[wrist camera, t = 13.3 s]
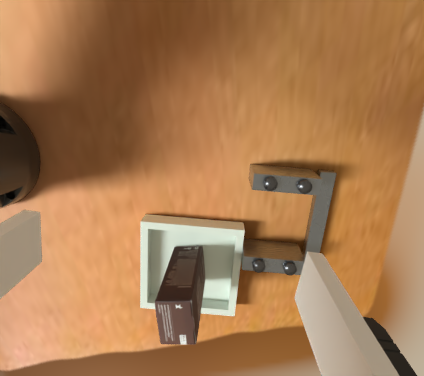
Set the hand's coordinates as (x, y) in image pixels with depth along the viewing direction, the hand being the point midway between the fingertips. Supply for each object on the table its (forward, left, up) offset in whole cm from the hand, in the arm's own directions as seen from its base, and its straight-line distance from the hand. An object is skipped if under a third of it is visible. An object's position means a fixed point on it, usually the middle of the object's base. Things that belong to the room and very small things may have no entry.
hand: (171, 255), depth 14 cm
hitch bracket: (+12, -7, -26) cm, 29 cm away
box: (-1, -16, -25) cm, 30 cm away
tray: (-1, -16, -26) cm, 30 cm away
